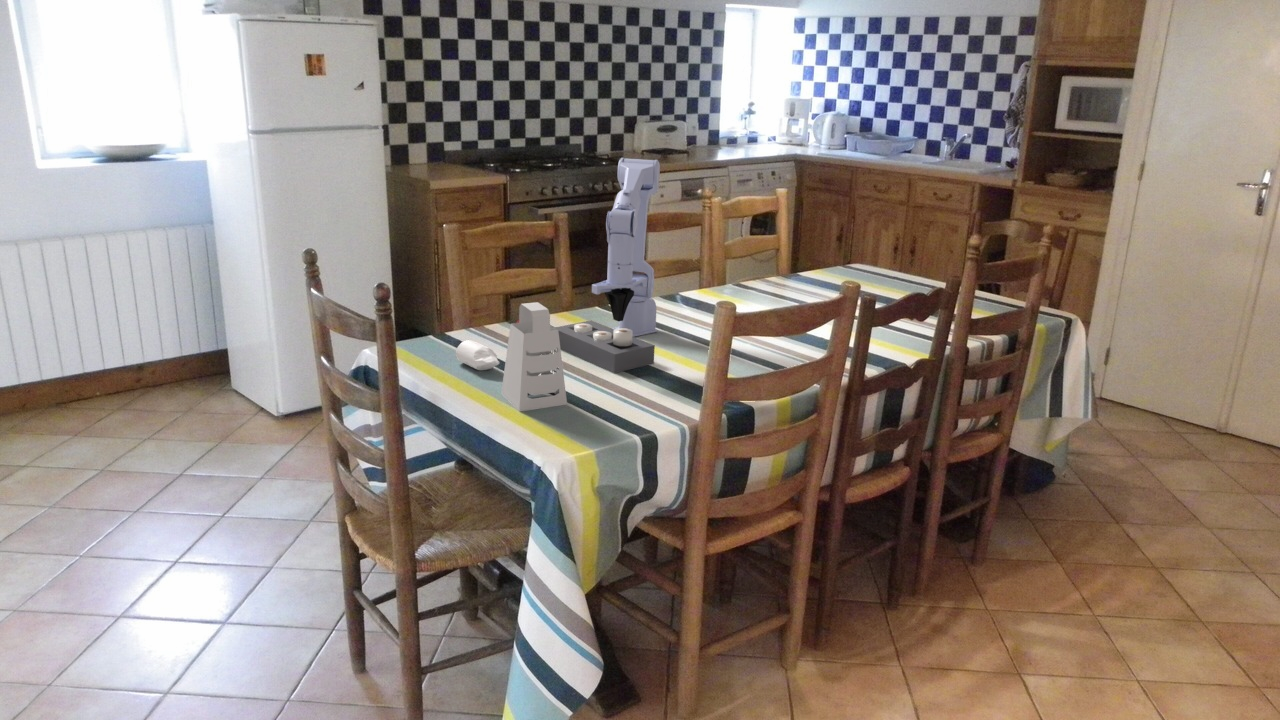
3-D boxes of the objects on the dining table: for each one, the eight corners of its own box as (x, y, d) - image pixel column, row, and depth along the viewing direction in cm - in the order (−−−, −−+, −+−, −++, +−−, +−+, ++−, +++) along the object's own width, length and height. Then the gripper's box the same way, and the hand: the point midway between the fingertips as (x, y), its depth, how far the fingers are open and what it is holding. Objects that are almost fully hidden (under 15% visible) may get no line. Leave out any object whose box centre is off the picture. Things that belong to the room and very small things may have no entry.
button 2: (623, 339, 221) (624, 327, 220) (635, 344, 218) (636, 331, 217) (609, 342, 218) (609, 330, 217) (621, 347, 215) (621, 335, 214)
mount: (590, 337, 237) (591, 320, 236) (653, 363, 220) (654, 345, 219) (551, 345, 230) (552, 327, 228) (614, 373, 212) (614, 354, 211)
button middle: (603, 341, 227) (603, 330, 226) (615, 346, 224) (615, 334, 223) (589, 345, 224) (589, 333, 223) (600, 349, 221) (600, 337, 220)
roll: (483, 379, 205) (483, 355, 203) (455, 364, 214) (455, 341, 212) (507, 374, 209) (507, 350, 207) (478, 360, 218) (478, 336, 216)
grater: (547, 387, 202) (548, 297, 196) (567, 404, 193) (569, 310, 187) (501, 394, 197) (500, 302, 191) (519, 411, 189) (519, 315, 182)
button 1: (584, 334, 232) (584, 322, 231) (595, 338, 229) (595, 326, 228) (570, 337, 230) (570, 325, 229) (581, 341, 226) (581, 329, 225)
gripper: (606, 269, 206) (604, 329, 210) (656, 262, 215) (653, 319, 219) (586, 263, 211) (585, 321, 215) (636, 256, 220) (633, 312, 224)
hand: (618, 320), depth 217 cm, fingers closed
